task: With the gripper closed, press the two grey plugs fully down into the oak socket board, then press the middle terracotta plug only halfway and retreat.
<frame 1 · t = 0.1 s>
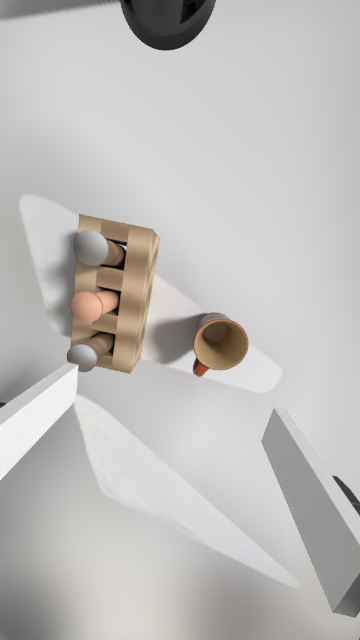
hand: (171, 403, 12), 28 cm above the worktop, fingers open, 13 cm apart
plug mid: (100, 303, 30), point 9 cm above the worktop, slide at 0.0 cm
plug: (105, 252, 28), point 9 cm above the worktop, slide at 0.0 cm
mug: (209, 333, 40), on the worktop
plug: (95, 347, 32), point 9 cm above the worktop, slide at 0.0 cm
socket board: (121, 296, 39), on the worktop
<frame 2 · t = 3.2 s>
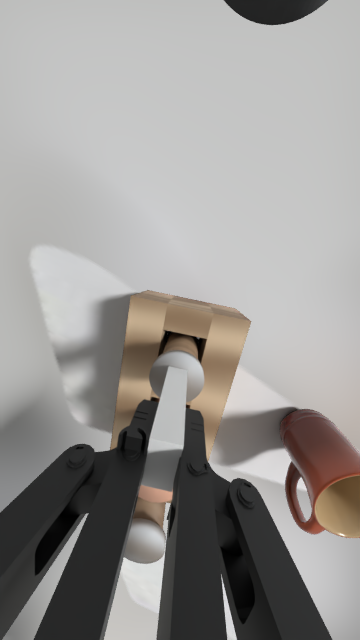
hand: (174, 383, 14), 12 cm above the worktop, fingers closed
plug mid: (163, 435, 19), point 9 cm above the worktop, slide at 0.0 cm
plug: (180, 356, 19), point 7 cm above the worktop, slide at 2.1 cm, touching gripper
mug: (293, 431, 29), on the worktop
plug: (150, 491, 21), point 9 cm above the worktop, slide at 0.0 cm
socket board: (173, 383, 28), on the worktop
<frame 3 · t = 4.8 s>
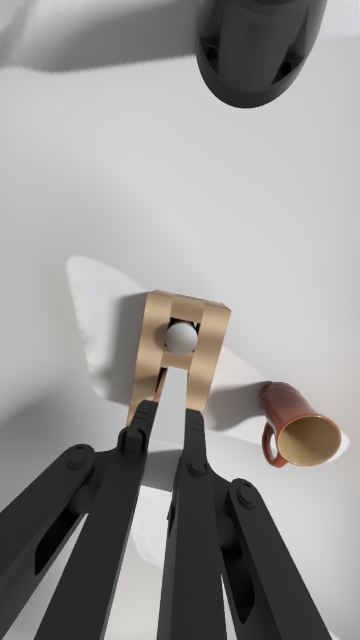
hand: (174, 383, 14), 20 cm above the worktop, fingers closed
plug mid: (170, 392, 27), point 9 cm above the worktop, slide at 0.0 cm
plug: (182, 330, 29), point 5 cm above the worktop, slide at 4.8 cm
mug: (270, 401, 37), on the worktop
socket board: (175, 362, 36), on the worktop
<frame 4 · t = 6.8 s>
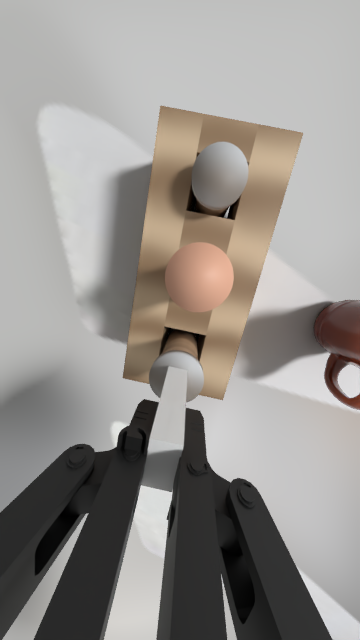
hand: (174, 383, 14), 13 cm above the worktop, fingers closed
plug mid: (197, 277, 16), point 9 cm above the worktop, slide at 0.0 cm
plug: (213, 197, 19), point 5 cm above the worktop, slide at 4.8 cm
mug: (328, 334, 26), on the worktop
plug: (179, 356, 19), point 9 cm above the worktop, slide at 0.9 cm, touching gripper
socket board: (195, 276, 25), on the worktop
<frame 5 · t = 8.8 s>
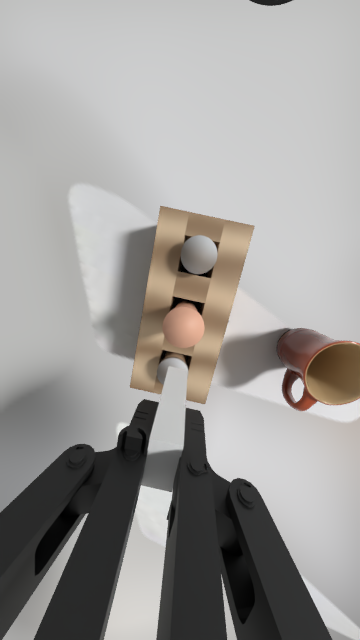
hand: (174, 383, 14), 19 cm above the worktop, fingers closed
plug mid: (184, 319, 24), point 9 cm above the worktop, slide at 0.0 cm
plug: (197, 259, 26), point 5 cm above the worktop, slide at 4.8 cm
mug: (288, 352, 34), on the worktop
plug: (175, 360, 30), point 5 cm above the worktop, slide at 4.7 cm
socket board: (186, 308, 33), on the worktop
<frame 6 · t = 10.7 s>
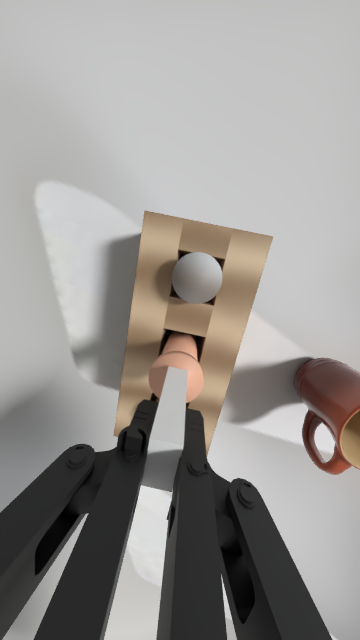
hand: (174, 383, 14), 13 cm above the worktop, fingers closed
plug mid: (179, 356, 19), point 8 cm above the worktop, slide at 1.3 cm, touching gripper
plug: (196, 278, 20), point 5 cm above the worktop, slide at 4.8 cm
mug: (308, 385, 28), on the worktop
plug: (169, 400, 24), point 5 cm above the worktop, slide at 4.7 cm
socket board: (183, 332, 27), on the worktop
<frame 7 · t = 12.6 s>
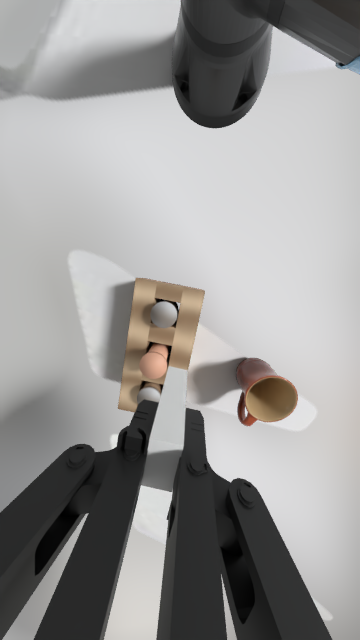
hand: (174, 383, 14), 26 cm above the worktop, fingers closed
plug mid: (157, 355, 34), point 7 cm above the worktop, slide at 2.1 cm
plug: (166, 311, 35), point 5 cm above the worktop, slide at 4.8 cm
mug: (246, 376, 42), on the worktop
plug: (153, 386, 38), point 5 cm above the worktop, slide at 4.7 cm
socket board: (163, 342, 41), on the worktop
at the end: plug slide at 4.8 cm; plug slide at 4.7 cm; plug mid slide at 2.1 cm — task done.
